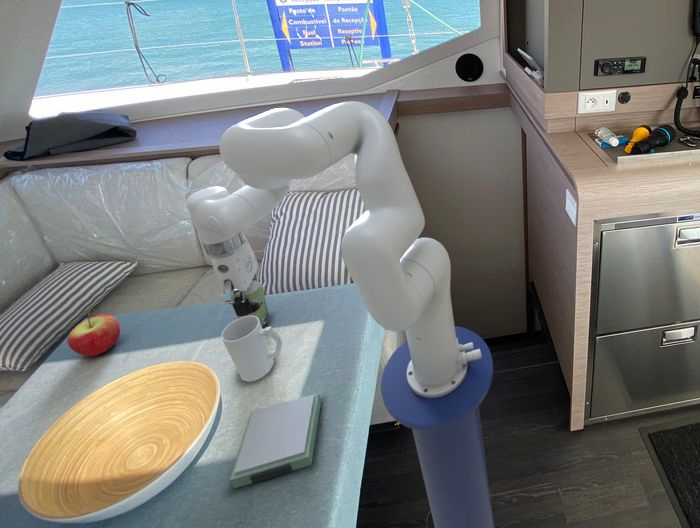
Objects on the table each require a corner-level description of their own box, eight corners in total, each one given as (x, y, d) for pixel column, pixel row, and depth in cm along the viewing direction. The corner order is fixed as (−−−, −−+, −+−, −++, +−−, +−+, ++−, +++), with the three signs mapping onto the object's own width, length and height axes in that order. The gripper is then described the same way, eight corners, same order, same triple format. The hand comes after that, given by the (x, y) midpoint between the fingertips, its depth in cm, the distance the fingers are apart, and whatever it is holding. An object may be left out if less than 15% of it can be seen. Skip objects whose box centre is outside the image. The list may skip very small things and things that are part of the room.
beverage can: (251, 315, 104) (237, 276, 100) (279, 314, 104) (266, 275, 99) (235, 335, 98) (219, 294, 94) (264, 334, 98) (250, 294, 94)
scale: (321, 401, 82) (317, 390, 81) (311, 467, 71) (306, 456, 70) (254, 419, 79) (250, 409, 78) (233, 491, 68) (227, 480, 67)
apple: (134, 330, 102) (116, 299, 98) (112, 359, 94) (92, 326, 90) (95, 338, 100) (75, 306, 96) (69, 368, 92) (47, 335, 88)
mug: (233, 385, 86) (214, 344, 81) (247, 358, 92) (230, 317, 88) (284, 377, 87) (268, 336, 83) (295, 351, 93) (280, 310, 89)
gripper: (230, 261, 84) (256, 327, 92) (254, 217, 100) (275, 276, 107) (188, 269, 83) (218, 335, 90) (220, 223, 98) (243, 282, 105)
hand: (249, 302), depth 98 cm, fingers closed on beverage can, 6 cm apart
